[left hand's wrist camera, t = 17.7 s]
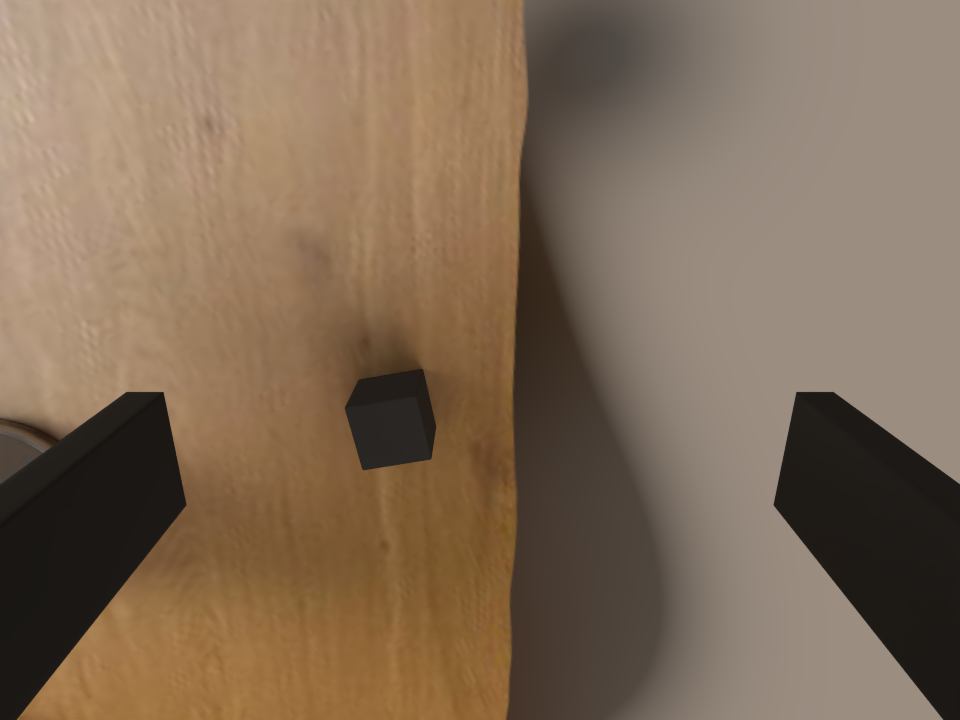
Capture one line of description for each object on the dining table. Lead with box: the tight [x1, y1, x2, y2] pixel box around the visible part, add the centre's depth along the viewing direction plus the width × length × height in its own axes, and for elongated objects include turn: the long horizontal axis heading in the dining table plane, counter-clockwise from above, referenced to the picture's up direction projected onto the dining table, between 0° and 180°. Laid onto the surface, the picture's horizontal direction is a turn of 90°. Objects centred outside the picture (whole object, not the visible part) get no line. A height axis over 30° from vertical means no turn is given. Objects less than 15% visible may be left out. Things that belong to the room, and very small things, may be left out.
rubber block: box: [345, 369, 436, 470], centre depth 44 cm, size 5×5×5 cm
